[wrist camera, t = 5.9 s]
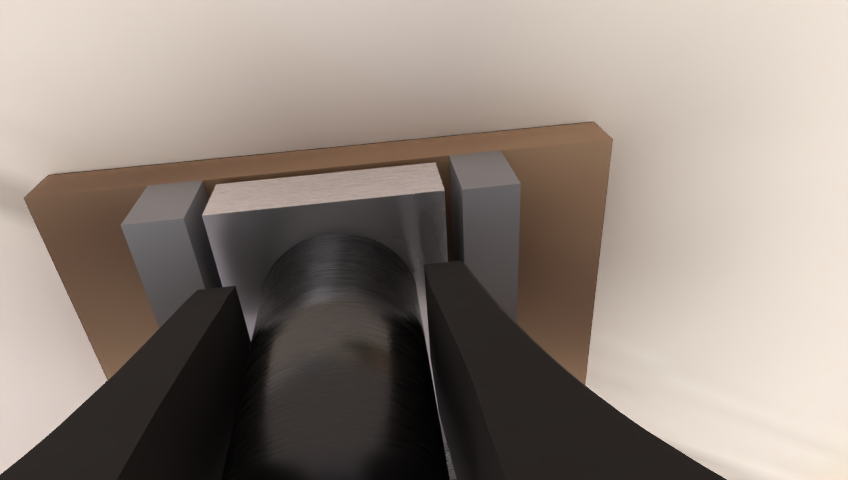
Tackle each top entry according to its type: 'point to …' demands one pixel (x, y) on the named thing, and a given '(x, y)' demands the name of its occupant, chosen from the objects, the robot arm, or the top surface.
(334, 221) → the ram
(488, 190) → the bench
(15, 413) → the top surface
